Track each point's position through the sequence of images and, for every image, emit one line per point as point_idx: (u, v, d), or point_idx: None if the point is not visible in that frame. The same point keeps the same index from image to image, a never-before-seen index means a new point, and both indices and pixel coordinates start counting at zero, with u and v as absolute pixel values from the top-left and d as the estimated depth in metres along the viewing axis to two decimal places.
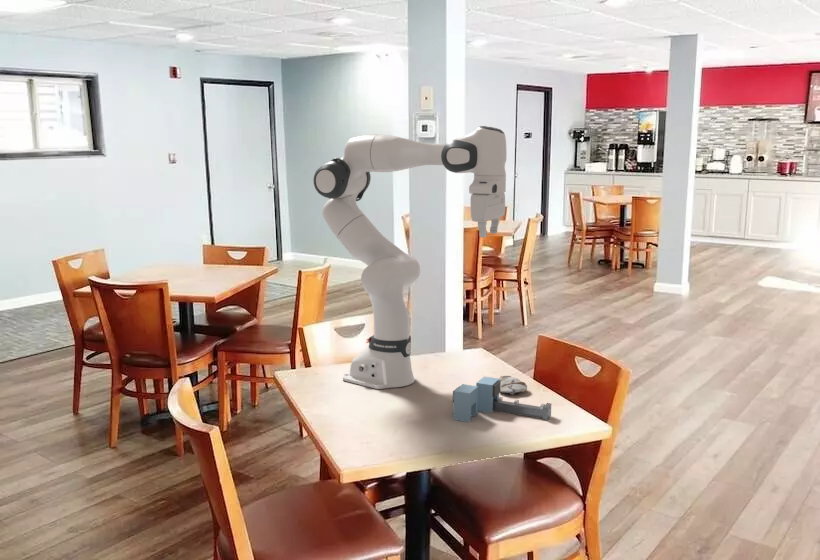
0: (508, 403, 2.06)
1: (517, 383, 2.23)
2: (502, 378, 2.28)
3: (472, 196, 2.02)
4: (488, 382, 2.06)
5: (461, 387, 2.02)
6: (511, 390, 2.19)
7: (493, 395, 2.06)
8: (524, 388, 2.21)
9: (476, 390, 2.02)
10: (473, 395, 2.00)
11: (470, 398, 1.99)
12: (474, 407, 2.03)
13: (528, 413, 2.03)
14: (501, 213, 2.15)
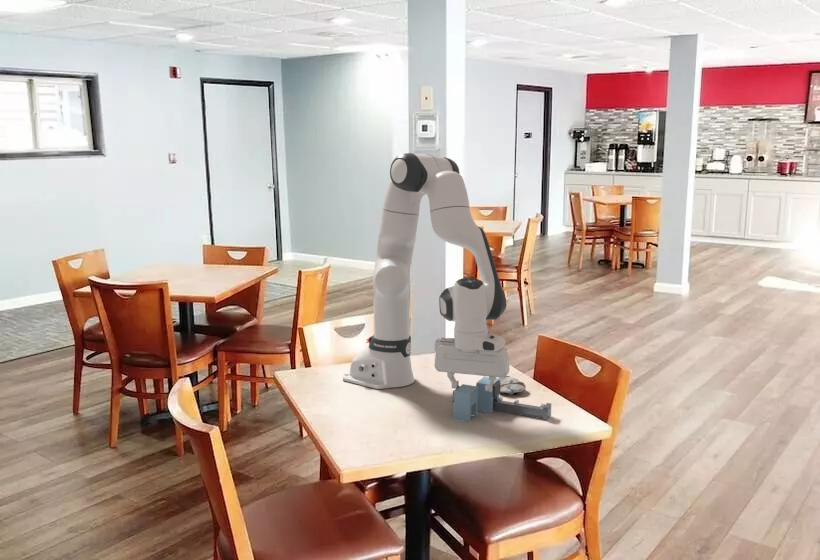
0: (508, 403, 2.06)
1: (515, 383, 2.23)
2: (501, 378, 2.28)
3: (501, 353, 1.94)
4: (488, 382, 2.06)
5: (461, 387, 2.02)
6: (509, 390, 2.19)
7: (493, 395, 2.06)
8: (522, 388, 2.21)
9: (476, 390, 2.02)
10: (473, 395, 2.00)
11: (470, 398, 1.99)
12: (474, 407, 2.03)
13: (528, 413, 2.03)
14: None
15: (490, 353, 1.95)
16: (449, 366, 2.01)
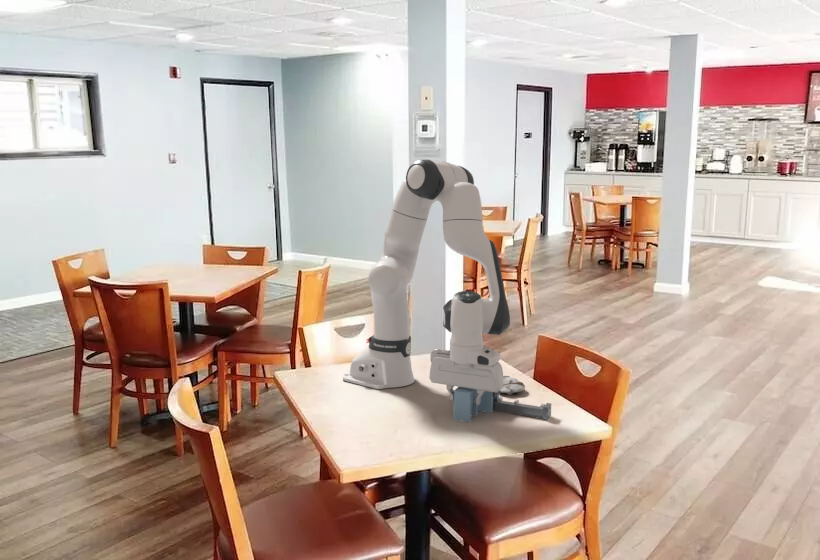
0: (508, 403, 2.06)
1: (515, 383, 2.23)
2: None
3: (495, 368, 1.95)
4: None
5: (461, 387, 2.02)
6: (509, 390, 2.19)
7: (493, 395, 2.06)
8: (522, 388, 2.21)
9: (476, 390, 2.02)
10: (473, 395, 2.00)
11: (470, 398, 1.99)
12: (474, 407, 2.03)
13: (528, 413, 2.03)
14: None
15: (484, 367, 1.95)
16: (444, 378, 2.02)
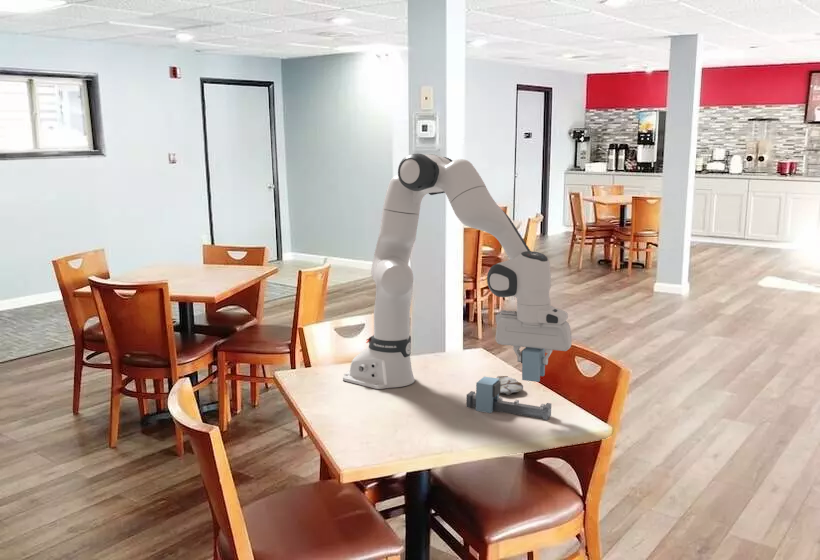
0: (508, 403, 2.06)
1: (513, 383, 2.22)
2: (499, 378, 2.28)
3: (564, 326, 1.95)
4: (488, 382, 2.06)
5: (528, 348, 2.02)
6: (507, 390, 2.19)
7: (493, 395, 2.06)
8: (520, 388, 2.21)
9: (543, 350, 2.02)
10: (541, 355, 2.00)
11: (539, 357, 1.99)
12: (542, 367, 2.03)
13: (528, 413, 2.03)
14: None
15: (553, 326, 1.95)
16: (510, 339, 2.02)
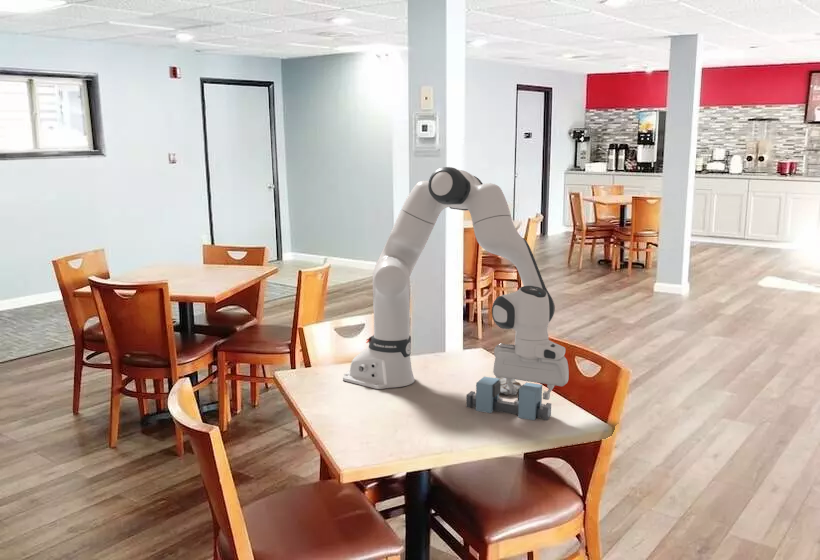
0: (508, 403, 2.06)
1: None
2: None
3: (561, 362, 1.96)
4: (488, 382, 2.06)
5: (525, 385, 2.04)
6: (505, 390, 2.19)
7: (493, 395, 2.06)
8: None
9: (540, 388, 2.04)
10: (538, 393, 2.02)
11: (536, 396, 2.00)
12: (538, 405, 2.05)
13: None
14: None
15: (551, 361, 1.97)
16: (508, 372, 2.03)
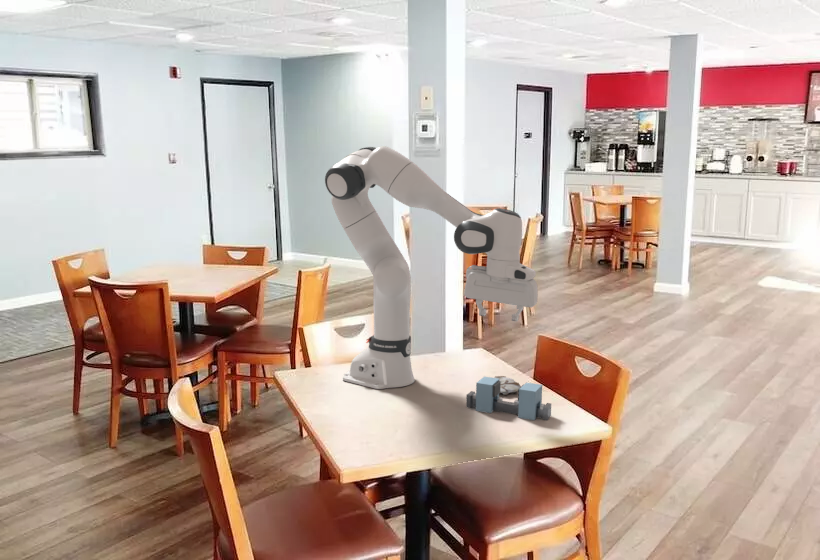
0: (508, 403, 2.06)
1: (511, 383, 2.22)
2: None
3: (531, 283, 2.00)
4: (488, 382, 2.06)
5: (525, 385, 2.04)
6: (504, 390, 2.19)
7: (493, 395, 2.06)
8: (517, 388, 2.21)
9: (540, 388, 2.04)
10: (538, 393, 2.02)
11: (536, 396, 2.00)
12: (538, 405, 2.05)
13: None
14: None
15: (521, 282, 2.00)
16: (478, 293, 2.06)
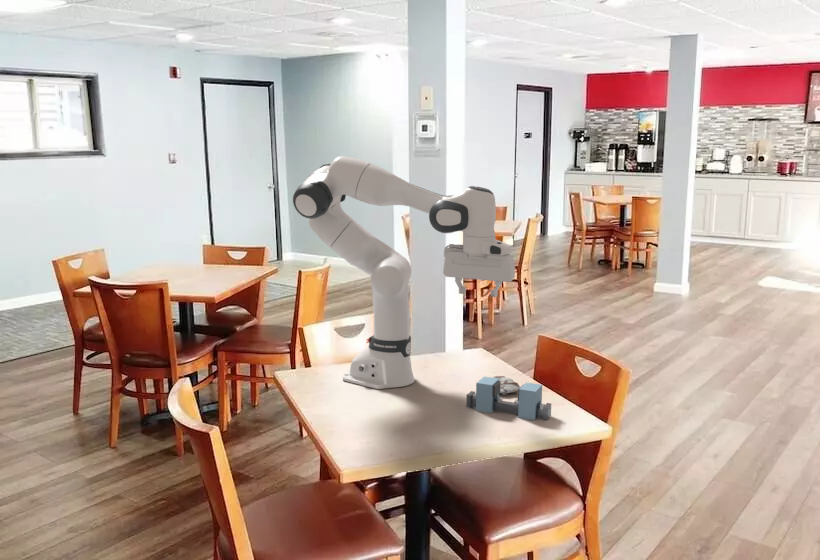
0: (508, 403, 2.06)
1: (510, 383, 2.22)
2: None
3: (507, 257, 2.02)
4: (488, 382, 2.06)
5: (525, 385, 2.04)
6: (503, 390, 2.19)
7: (493, 395, 2.06)
8: (516, 388, 2.20)
9: (540, 388, 2.04)
10: (538, 393, 2.02)
11: (536, 396, 2.00)
12: (538, 405, 2.05)
13: None
14: None
15: (497, 257, 2.03)
16: (457, 271, 2.09)
